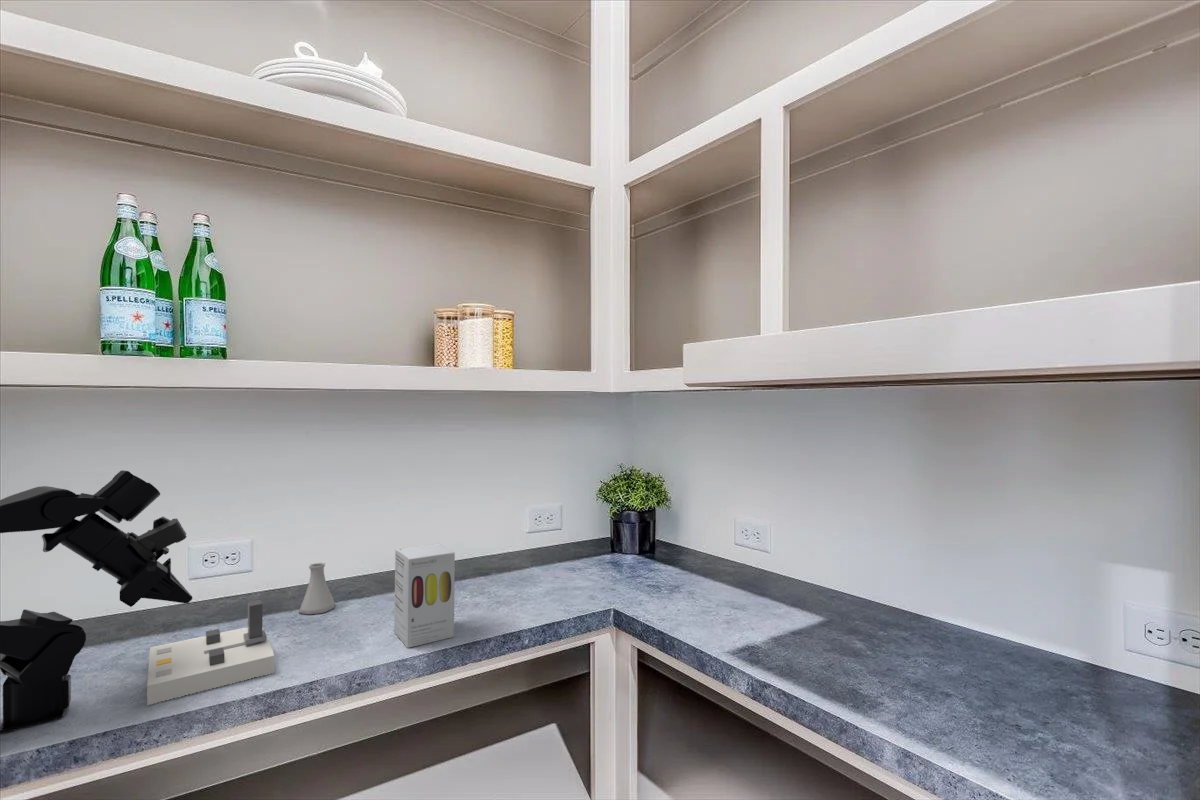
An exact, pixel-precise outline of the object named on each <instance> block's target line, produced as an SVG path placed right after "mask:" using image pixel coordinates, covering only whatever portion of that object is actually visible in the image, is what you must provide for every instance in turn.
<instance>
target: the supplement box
mask: <svg viewBox="0 0 1200 800" xmlns="http://www.w3.org/2000/svg"><path fill="white" fill-rule="evenodd" d="M394 554H395V555H394V556H395V557H394V566H395V567H394V622H393V623H394V624H393V625H394V626H393V627H394V631H393V632H394V634H395V635H396V636H397V637H398V638H399V639H400V640H401V642H402V643H403V644H404V645H405V647H406V648H408V649H409V648H413V647H418V646H423V645H425V644H430V643H434V642H438V641H442V640H446V639H451V638H454V637H455V580H456V579H455V575H456V574H455V572H456V570H455V567H456V565H455V561H456V555H455V554H456V553H455V552H454V551H453V550H451V549H450V548H448V547H446V546H444V545H442V544H441V543H440V542H438V543H434V544H426V545H418V546H412V547H406V548H405V547H404V548H396V549H395V550H394Z"/></svg>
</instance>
